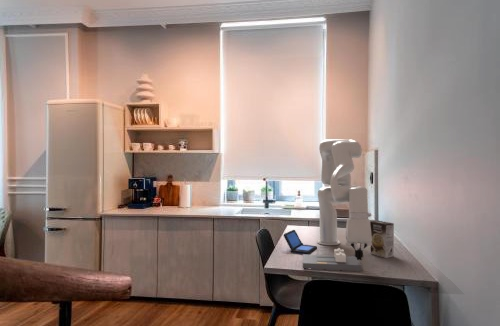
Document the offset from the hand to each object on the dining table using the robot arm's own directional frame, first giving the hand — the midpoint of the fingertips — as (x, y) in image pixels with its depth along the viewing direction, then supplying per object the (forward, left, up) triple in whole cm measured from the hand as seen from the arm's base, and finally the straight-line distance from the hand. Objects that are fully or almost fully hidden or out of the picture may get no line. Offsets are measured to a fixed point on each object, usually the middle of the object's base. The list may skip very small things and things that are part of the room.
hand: (358, 259), depth 142 cm
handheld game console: (-29, -25, -5) cm, 38 cm away
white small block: (0, -8, -1) cm, 8 cm away
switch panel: (-4, -12, -4) cm, 13 cm away
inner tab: (-7, -8, -1) cm, 11 cm away
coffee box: (-24, +14, -4) cm, 28 cm away
